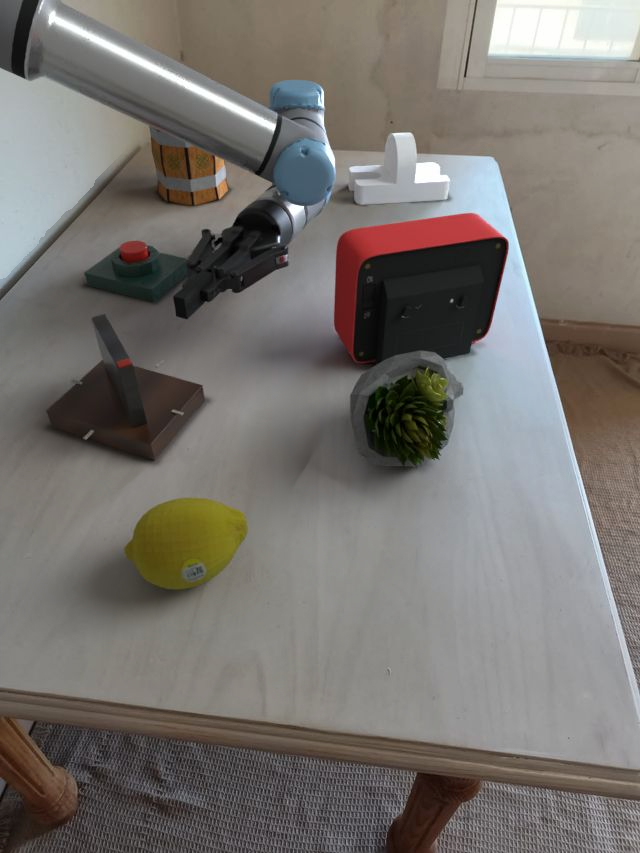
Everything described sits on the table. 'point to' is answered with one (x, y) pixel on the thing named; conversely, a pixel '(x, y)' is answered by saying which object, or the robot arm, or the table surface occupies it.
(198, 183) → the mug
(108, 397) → the dial panel
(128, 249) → the button
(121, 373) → the dark grey slab
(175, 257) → the button block
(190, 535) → the lemon
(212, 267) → the robot arm
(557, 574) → the table surface
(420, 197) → the white caddy with handle
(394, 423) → the potted plant
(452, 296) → the alarm clock
